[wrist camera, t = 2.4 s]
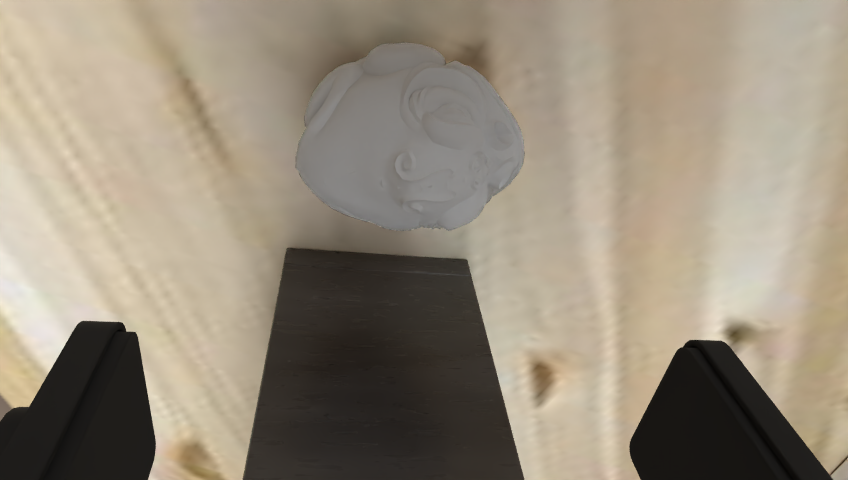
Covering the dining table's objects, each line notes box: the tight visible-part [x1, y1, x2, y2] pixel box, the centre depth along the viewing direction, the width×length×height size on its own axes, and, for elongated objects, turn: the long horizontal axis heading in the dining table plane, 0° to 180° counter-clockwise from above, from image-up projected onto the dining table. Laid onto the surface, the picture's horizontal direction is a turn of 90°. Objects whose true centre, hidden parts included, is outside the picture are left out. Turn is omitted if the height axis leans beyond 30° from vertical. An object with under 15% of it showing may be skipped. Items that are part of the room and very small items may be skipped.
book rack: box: [243, 248, 524, 480], centre depth 24 cm, size 12×8×12 cm, turn 172°
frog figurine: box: [296, 42, 525, 231], centre depth 19 cm, size 6×7×7 cm
